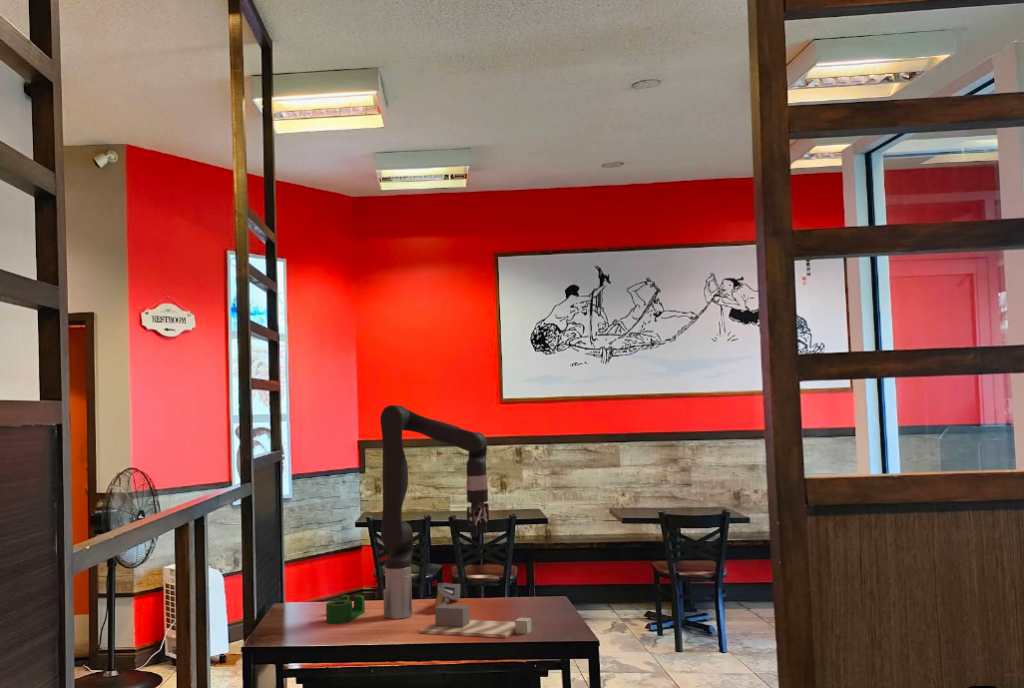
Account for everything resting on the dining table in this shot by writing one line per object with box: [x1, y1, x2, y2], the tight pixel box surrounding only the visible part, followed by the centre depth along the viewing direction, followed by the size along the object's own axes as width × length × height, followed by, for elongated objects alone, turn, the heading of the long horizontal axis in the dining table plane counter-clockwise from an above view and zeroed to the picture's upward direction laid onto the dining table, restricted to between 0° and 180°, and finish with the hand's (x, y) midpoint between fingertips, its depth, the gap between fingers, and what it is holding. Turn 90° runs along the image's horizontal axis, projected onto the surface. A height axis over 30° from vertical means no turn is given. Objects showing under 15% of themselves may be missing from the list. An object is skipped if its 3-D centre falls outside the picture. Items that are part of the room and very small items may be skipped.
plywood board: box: [419, 619, 516, 639], centre depth 259 cm, size 30×16×1 cm, turn 70°
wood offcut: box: [514, 617, 532, 635], centre depth 253 cm, size 4×4×4 cm
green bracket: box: [325, 594, 366, 625], centre depth 284 cm, size 18×9×6 cm, turn 171°
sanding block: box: [434, 604, 470, 628], centre depth 262 cm, size 10×5×6 cm, turn 70°
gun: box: [433, 582, 462, 615], centre depth 297 cm, size 3×25×15 cm, turn 166°
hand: (478, 534), depth 280 cm, fingers open, 8 cm apart
